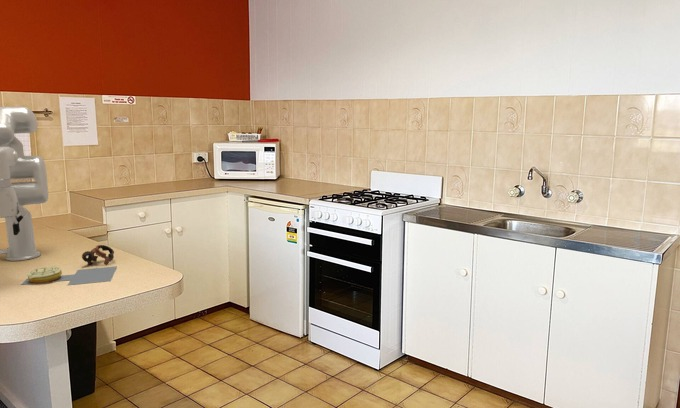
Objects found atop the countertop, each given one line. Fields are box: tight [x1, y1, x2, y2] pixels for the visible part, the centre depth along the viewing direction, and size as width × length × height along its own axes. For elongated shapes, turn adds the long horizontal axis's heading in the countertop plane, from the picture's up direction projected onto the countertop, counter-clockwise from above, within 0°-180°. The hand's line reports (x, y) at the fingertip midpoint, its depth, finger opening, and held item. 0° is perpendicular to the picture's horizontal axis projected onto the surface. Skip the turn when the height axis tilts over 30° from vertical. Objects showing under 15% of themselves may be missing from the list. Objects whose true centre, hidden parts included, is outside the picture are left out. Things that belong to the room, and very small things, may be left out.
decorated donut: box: [27, 266, 63, 284], centre depth 191 cm, size 10×11×4 cm
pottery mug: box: [81, 244, 115, 266], centre depth 210 cm, size 12×10×8 cm
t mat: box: [21, 265, 118, 286], centre depth 194 cm, size 30×19×1 cm, turn 106°
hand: (5, 234), depth 185 cm, fingers open, 6 cm apart
